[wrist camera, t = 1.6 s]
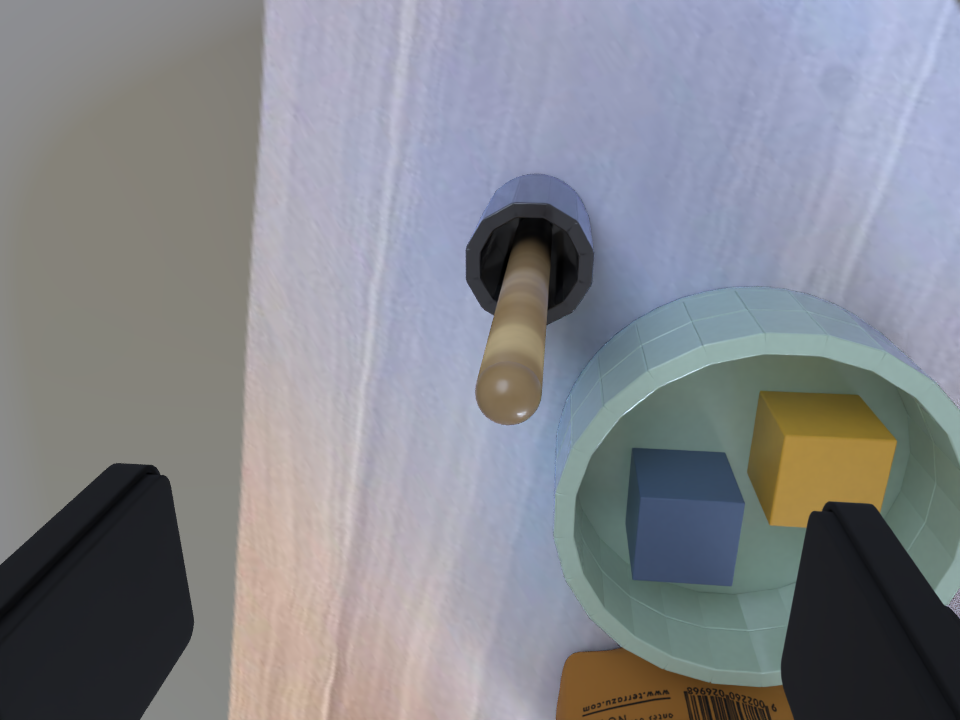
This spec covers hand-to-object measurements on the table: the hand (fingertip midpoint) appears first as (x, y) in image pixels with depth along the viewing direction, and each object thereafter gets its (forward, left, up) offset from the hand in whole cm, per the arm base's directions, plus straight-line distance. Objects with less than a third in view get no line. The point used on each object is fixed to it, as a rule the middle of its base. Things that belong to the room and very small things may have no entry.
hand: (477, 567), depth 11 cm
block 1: (+11, +7, -21) cm, 24 cm away
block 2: (+8, +12, -21) cm, 25 cm away
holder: (0, 0, -21) cm, 21 cm away
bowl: (+10, +9, -21) cm, 25 cm away
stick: (0, 0, -21) cm, 21 cm away
